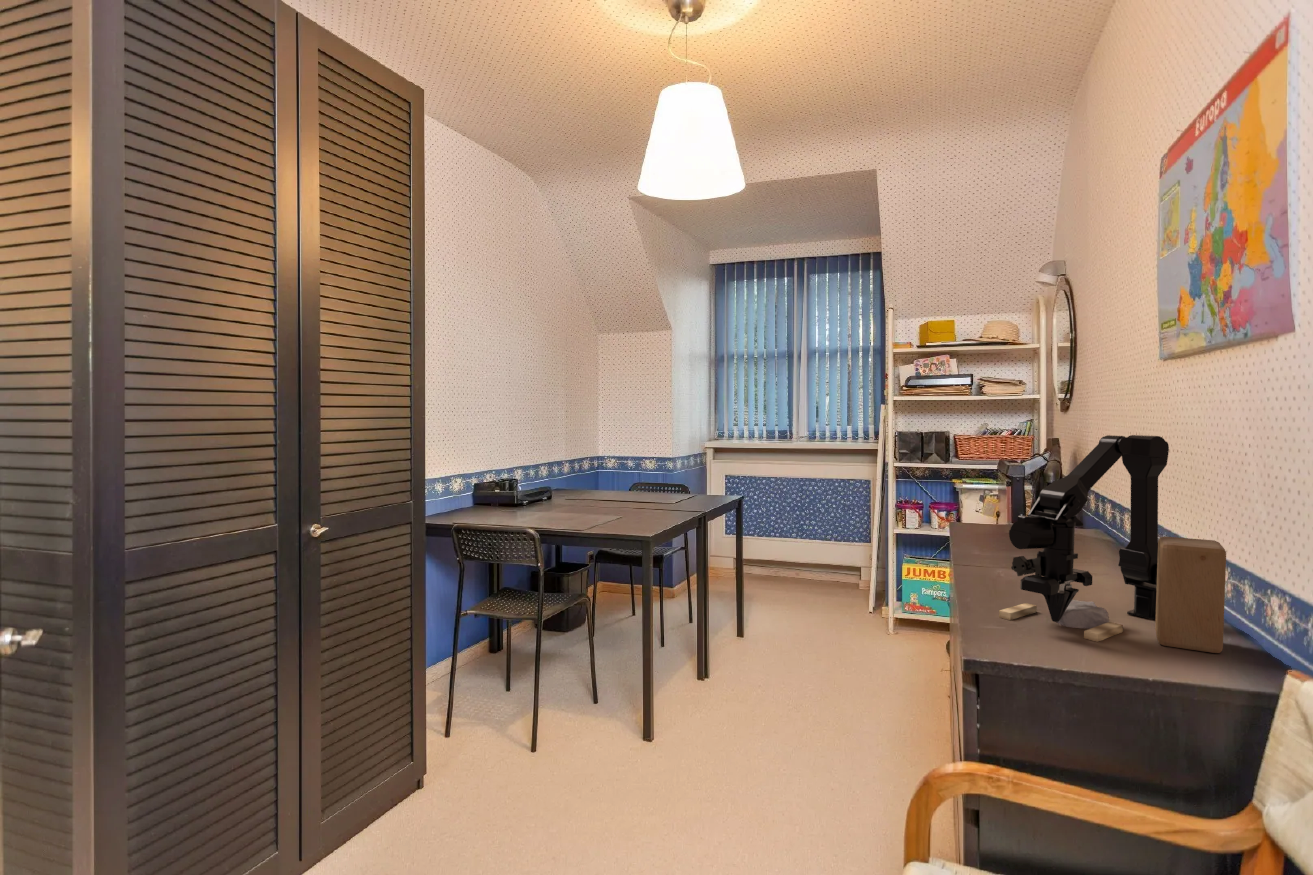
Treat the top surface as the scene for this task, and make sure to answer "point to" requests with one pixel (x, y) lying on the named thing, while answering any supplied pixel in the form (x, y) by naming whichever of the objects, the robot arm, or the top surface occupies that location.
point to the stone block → (1084, 615)
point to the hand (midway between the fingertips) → (1055, 621)
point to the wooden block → (1190, 594)
